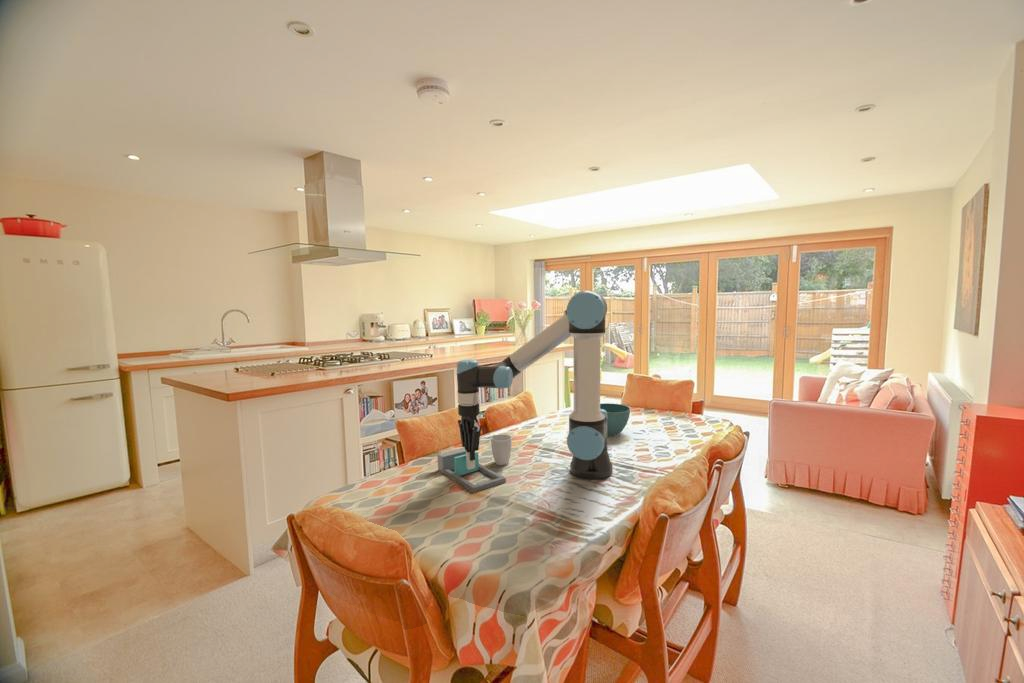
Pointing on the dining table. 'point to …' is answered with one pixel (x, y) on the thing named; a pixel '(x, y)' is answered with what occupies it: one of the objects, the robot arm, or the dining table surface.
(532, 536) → the dining table surface
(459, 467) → the block
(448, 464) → the tray
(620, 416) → the teal bowl
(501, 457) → the cup
